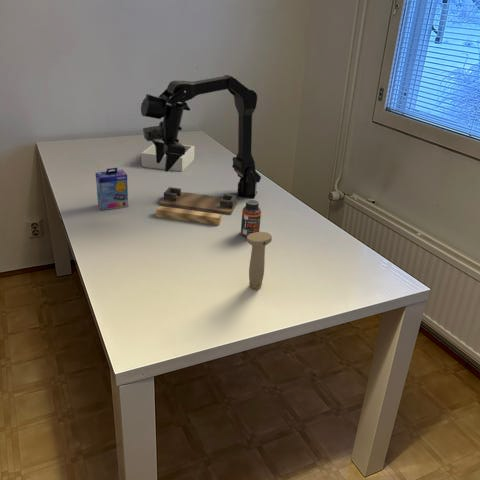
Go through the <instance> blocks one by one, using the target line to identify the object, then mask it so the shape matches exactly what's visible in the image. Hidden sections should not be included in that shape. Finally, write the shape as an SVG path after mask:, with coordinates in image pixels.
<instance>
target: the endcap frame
mask: <svg viewBox="0 0 480 480" xmlns="http://www.w3.org/2000/svg"><path fill="white" fill-rule="evenodd" d="M238 203H239V199H238V198H237V195H234V194H227V193H226V194H223V195H222V196H216V195H215V196H214V195H208V194H200V193H194V192H185V191H182V188H179V187H171V186H168V187H167V189H166V190H165V191H164V192H163V199H161V201H160V202H159V206H163V207H171V208H178V209H185V210H192V211H200V212H207V213H214V214H222V215H223V214H225V215H232V214H233V213H234V210H235V208H236V206H237V205H238Z"/></svg>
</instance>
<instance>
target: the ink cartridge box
mask: <svg viewBox="0 0 480 480" xmlns="http://www.w3.org/2000/svg"><path fill="white" fill-rule="evenodd" d="M95 182H96V183H95V184H96V195H97V206H98V207H99V209H100V211H106V210H113V209H121V208H126V207H127V208H128V207H129V197H128V196H129V193H128V192H129V191H128V187H129V186H128V174H127V172H125V170H124V169H118V167H112V168H106V170H104V171H98V172H95Z"/></svg>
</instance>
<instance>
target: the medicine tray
mask: <svg viewBox="0 0 480 480" xmlns="http://www.w3.org/2000/svg"><path fill="white" fill-rule="evenodd" d="M182 145H183V146H184V147H185V149H186V151H185V155H182V156H181V157H180V158H179V159H178V160H177V161H176V162H175V164H174V165H173V166H172V167H171V169H170V170H169V171H175V172H184V170H186V168H188V166H190V164H191V163H192V162H193V161H194V160H195V145H187V144H182ZM140 155H141V167H142V168H148V169H149V168H151V169H158V170H165V161H166V155H164V156H163V158H162V160H161V162H160V163H157V162H156V149H155V145H154V144H153V143H152V144H151V145H150V146H148V147H147V148H146V149H145V150H143V151H142V152H141V153H140Z"/></svg>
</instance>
